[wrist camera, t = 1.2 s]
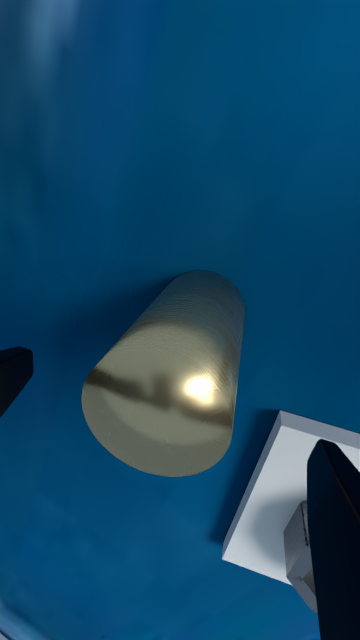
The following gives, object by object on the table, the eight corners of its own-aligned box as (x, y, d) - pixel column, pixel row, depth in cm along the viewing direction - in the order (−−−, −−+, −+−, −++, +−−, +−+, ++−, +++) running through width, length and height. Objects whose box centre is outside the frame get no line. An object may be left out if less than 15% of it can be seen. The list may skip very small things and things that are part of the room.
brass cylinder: (255, 282, 14) (252, 379, 7) (232, 359, 16) (211, 495, 9) (167, 261, 15) (84, 331, 8) (154, 337, 17) (79, 449, 10)
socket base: (541, 488, 15) (562, 511, 14) (408, 608, 21) (416, 631, 20) (280, 410, 17) (281, 425, 16) (223, 541, 23) (221, 559, 22)
